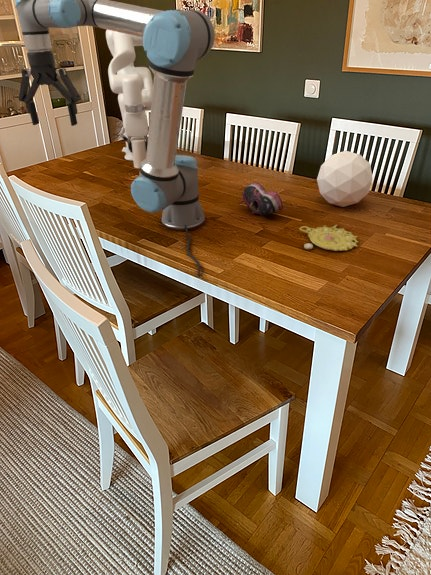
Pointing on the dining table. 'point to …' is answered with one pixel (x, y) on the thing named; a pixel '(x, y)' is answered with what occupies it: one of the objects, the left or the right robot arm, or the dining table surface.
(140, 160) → the canister
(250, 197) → the athletic shoe
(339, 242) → the decorative object
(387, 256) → the dining table surface
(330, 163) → the sphere
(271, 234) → the dining table surface
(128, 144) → the left robot arm
